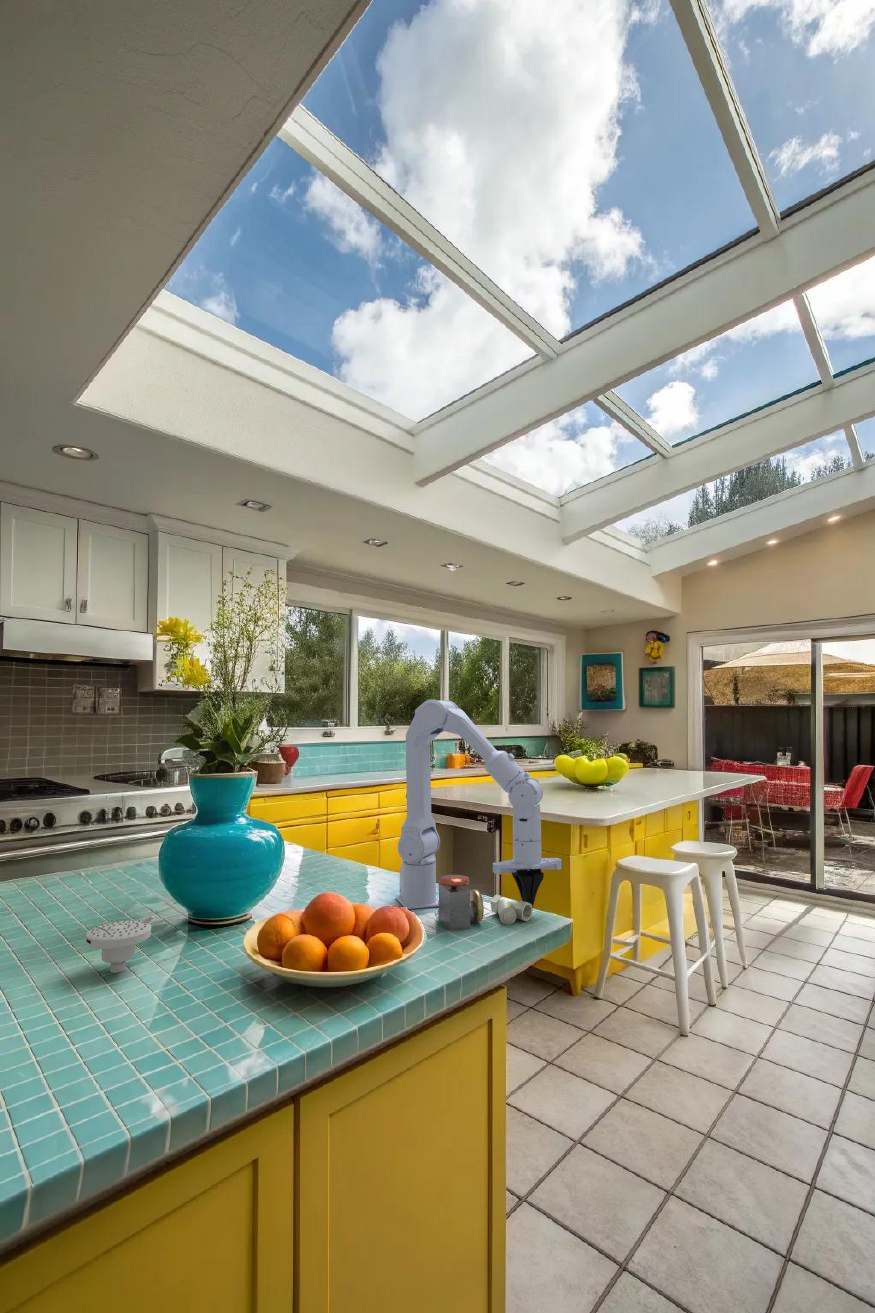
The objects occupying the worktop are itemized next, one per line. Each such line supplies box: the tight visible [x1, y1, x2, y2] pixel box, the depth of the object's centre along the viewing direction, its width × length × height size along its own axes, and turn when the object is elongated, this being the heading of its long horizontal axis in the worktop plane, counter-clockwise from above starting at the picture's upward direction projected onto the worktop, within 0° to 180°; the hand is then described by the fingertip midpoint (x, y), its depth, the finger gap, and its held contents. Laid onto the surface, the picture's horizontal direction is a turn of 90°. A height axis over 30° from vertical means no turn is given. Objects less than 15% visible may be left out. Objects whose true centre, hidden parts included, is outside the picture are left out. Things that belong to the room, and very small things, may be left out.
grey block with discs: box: [438, 874, 485, 931], centre depth 129 cm, size 7×8×9 cm
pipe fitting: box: [490, 894, 534, 925], centre depth 131 cm, size 8×4×7 cm
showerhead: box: [85, 916, 153, 974], centre depth 106 cm, size 9×7×10 cm
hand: (528, 907), depth 133 cm, fingers closed
